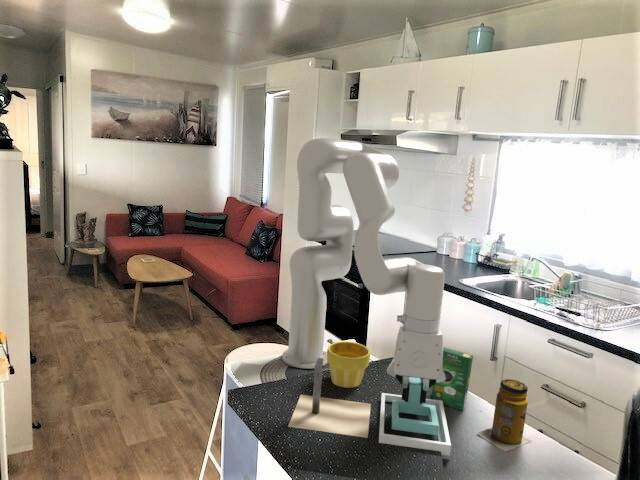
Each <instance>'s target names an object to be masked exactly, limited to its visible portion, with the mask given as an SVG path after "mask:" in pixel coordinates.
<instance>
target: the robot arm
mask: <svg viewBox="0 0 640 480" xmlns="http://www.w3.org/2000/svg"><path fill="white" fill-rule="evenodd" d="M296 171H297V177H298V178H297V179H298V186H299V187H298V205H297V233H298V236H299V237H300V238H301V240H304V241H306V242H325V241H326V244H324V245H323V244H322V245H321V244H319V245H309V246H308V245H307V246H302V247H300V248H298V249H296V250H295V251H294V252H292V254H291V256H290V257H289V258H290V259H289V272H290V281H291V297H290V298H291V299H290V316H289V318H290V319H289V332H288V333H289V335H288V349H286V350H284V351H283V352H282V357H281V358H282V361H283V362H284V363H285V364H286V365H288V366H290V367H293V368H297V369H305V370H308V369H309V370H310V369H314V367H315V365H316V362H317V359H318V358H323V359H324V360H323V366H322V367H324V366H326V364H328V362H327V352H325V351H324V343H325V329H326V327H325V326H326V315H327V314H326V312H327V304H328V303H327V294H326V291H325V289H324V287H323V285H322V282H323V281H324V282H325V281H329V280H331V281H332V280H335V279H341V278H343V277H345V276H346V275H347V274H348V273H349V271H350V268H351V266H352V258H353V255H354V260H355V263H356V266H357V269H358V273H359V275H360V278H361V280H362V282H363V284H364V286H365V287H366V289H367V290H368V291H369V292H371V293H372V294H374V295H376V296H385V295H390V294H395V293H402V292H405V295H406V296H405V302H404V303H405V304H404V313H402V314H400V315H396V322H398V323H400V324H401V325H400V326H399V329H398V332H397V335H396V340H395V345H394V351H393V352H394V353H393V359H392V360H391V362H390V364H389V365H388V367H387V369H386V373H387V374H388V376H391V377H393V378H394V379H396V380H397V381H398V382H399V384H400V385H401V387H402V391H401V395H402V400H405V402H408V398H409V377H414V378H420V379H421V394H420V404H422V403H425V402H426V399H427V394H428V391H429V389H430V388H431V387H433V385H434V384H436V383H439V382H442V381H445V380H446V377H445V374H444V371H443V368H442V365H443V347H444V334H443V332H442V330H441V329H440V323H441V318H442V317H441V314H442V309H443V308H442V306H443V299H444V298H443V297H444V287H445V280H446V279H445V278H446V277H445V276H446V275H445V272H444V269H443V268H441V267H440V266H435V265H431V264H425V263H423V262H420V261H418V260H416V259H414V258H413V257H407V256H402V257H392V258H383V255H382V251H381V248H380V243H379V232H380V230H381V228H382V226H383V224H385V223H386V222H388V221H389V220H390V219H392V218H393V216H394V215H395V213H396V210H395V209H396V208H395V205H394V203H393V200H392V197H391V196H390V195H391V194H390V192H389V189H390V188H393V187H394V186H395V185H396V184H397V182H398V180H399V177H400V169H399V165H398V163H397V162H396V160H395V159H394V158H393V156H392V155H390V154H387V153H386V152H383V151H381V150H379V149H376V148H374V147H372V146H371V145H368V144H366V143H363V142H361V141H357V140H348V139H339V138H332V137H331V138H330V137H329V138H328V137H319V138H318V137H317V138H313V139H310V140H308V141H307V142H305V143H304V145H302V146H301V148H300V150H299V153H298V156H297V161H296ZM326 174H343V176H344V179H345V183H346V186H347V189H348V192H349V195H350V198H351V200H352V202H353V203H352V204H353V206H354V210H355V212H356V216H357V218H358V222H359V223H358V227H357V230H356V233H355V237H354V230H355V228H354V226H355V224H354V219H353V216H352V214H351V212H350V210H349V209H348V208H347V207H345V206H343V205H339V204H332V194H333V193H332V186H331V183H330V180H329V179H328V177H327V175H326ZM353 245H354V246H353Z"/></svg>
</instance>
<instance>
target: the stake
mask: <svg viewBox="0 0 640 480" xmlns="http://www.w3.org/2000/svg"><path fill="white" fill-rule="evenodd" d="M323 360H324V359H323V358H318V359H317V362H316V365H315V367H314V368H313V369H314V371H313V373H314V375H313V376H314V377H313V391H312V392H313V393H312V396H313V402H312V413H313V414H319V410H320V397H321V393H322V380H323V367H324V366H323Z"/></svg>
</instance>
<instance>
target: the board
mask: <svg viewBox="0 0 640 480" xmlns="http://www.w3.org/2000/svg"><path fill="white" fill-rule="evenodd" d="M312 402H313V395H308V394H307V395H306V394H300V395H299V398H298V401H297V404H296V405H295V408H294V410H293V413H292V416H291V418H290V421H289V423H288V426H287V427H289V428H295V429H302V430H303V429H304V430H309V431H316V432H324V433H331V434H336V435H344V436H352V437H357V438H358V437H360V438H366V439H368V438H369V429H370V416H371V407H372V404H371V403H367V402H359V401H354V400H353V401H352V400H344V399H336V398H329V397H321V396H320V410H319V414H313V413H312Z"/></svg>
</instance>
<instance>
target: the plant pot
mask: <svg viewBox="0 0 640 480" xmlns="http://www.w3.org/2000/svg"><path fill="white" fill-rule="evenodd" d="M326 350H327V351H326V354H327V364H328V365H329V371H330V378H331V383H333V385H335V386H337V387H341V388H346V389H347V388H350V389H351V388H357V387H359V385H361V382H362V379H363V377H364V374H365V371H366V368H368V366H369V365H370V359H371V358H370V356H371V351H370V348H369V347H367V346H365V345H364V344H361V343H358V342H353V341H337V342H336V341H335V342H332V343H331V344H329V345H328V347H327V349H326Z"/></svg>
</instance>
